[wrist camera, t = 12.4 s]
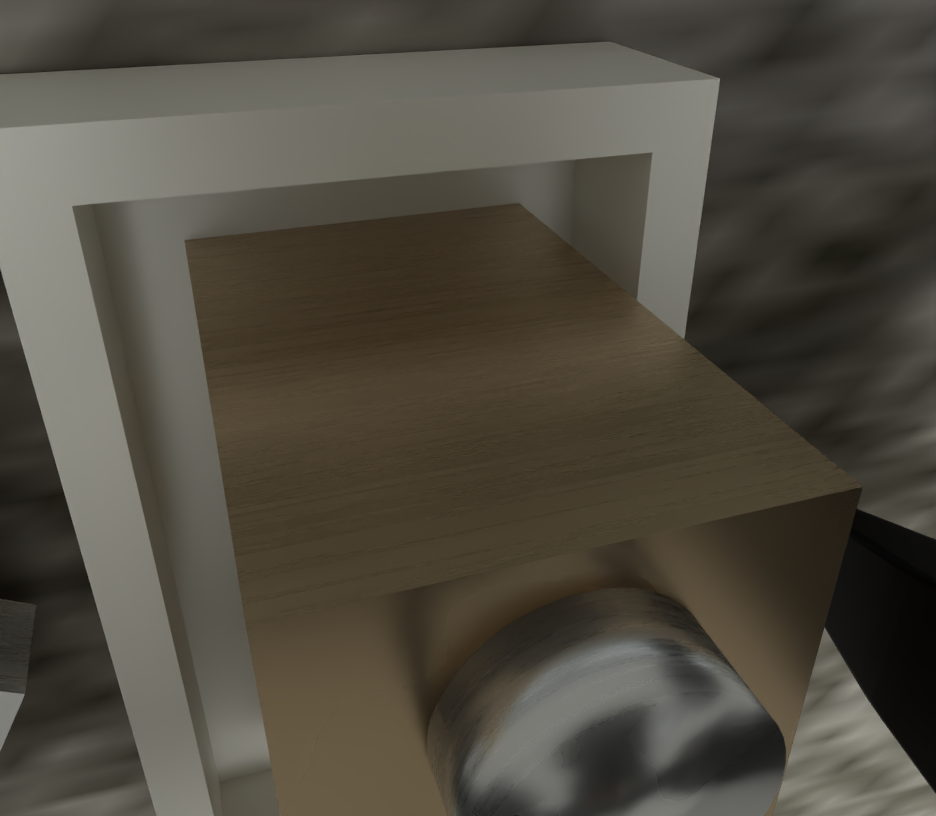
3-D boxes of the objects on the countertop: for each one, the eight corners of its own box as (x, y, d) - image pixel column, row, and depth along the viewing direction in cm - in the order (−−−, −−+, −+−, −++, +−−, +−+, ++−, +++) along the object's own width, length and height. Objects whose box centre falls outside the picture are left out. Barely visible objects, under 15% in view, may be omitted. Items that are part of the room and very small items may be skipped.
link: (184, 240, 9) (267, 764, 4) (518, 203, 10) (968, 574, 4) (269, 724, 12) (373, 1334, 7) (507, 663, 13) (750, 1164, 8)
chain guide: (-3, 74, 8) (-40, 131, 6) (610, 41, 10) (719, 79, 8) (180, 785, 13) (188, 929, 11) (560, 685, 15) (620, 796, 13)
